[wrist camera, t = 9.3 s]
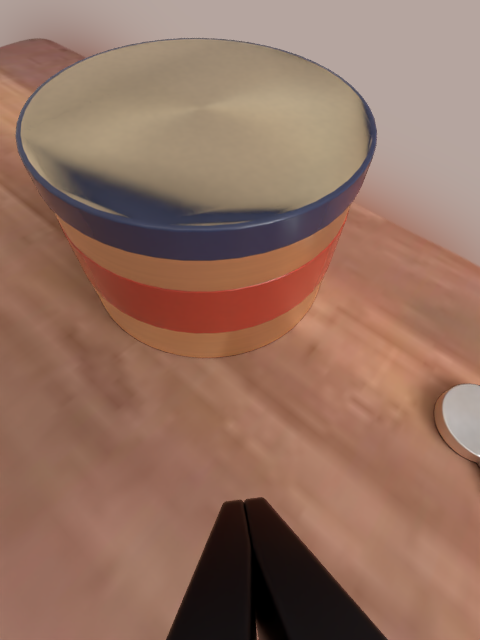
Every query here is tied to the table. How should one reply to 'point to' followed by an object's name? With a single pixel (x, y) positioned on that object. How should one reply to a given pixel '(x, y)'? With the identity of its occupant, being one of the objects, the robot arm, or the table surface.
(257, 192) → the tin
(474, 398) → the spoon
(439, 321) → the table surface
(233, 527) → the robot arm
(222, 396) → the table surface
